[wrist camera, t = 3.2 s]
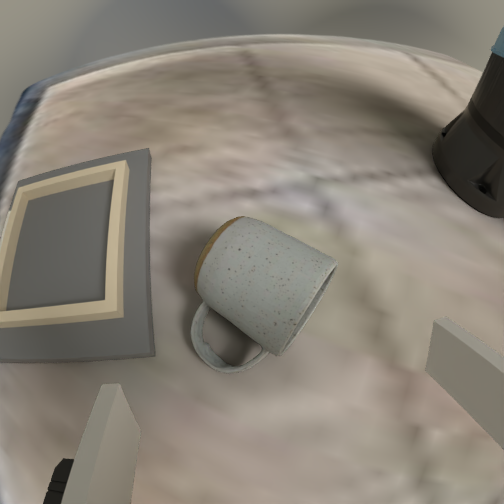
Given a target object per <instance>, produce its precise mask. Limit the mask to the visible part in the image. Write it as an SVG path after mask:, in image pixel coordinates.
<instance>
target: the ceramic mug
mask: <svg viewBox="0 0 504 504" xmlns="http://www.w3.org/2000/svg"><path fill="white" fill-rule="evenodd" d="M337 266H338V262H337V261H336V260H335V259H334V258H332V257H330V256H328V255H326V254H324V253H322V252H320V251H318V250H316V249H315V248H313V247H311V246H309V245H307V244H305V243H303V242H301V241H300V240H298V239H296V238H294V237H292V236H290V235H287V234H285V233H284V232H282V231H280V230H278V229H276V228H274V227H272V226H271V225H269V224H267V223H264V222H262V221H259V220H256V219H253V218H249V217H244V216H241V217H236V218H234V219H231V220H229V221H227V222H226V223H225V224H224V225H222V226H221V227H220V228H219V229H218V230H217V231H216V232H215V233H214V234H213V236H212V237H211V238H210V239H209V241H208V243H207V244H206V246H205V247H204V249H203V250H202V252H201V255H200V257H199V259H198V261H197V264H196V268H195V273H194V283H195V289H196V291H197V293H198V294H199V295H200V296H201V298H202V299H203V302H202V304H201V305H200V306H199V308H198V309H197V311H196V313H195V315H194V318H193V320H192V325H191V339H192V343H193V346H194V349H195V351H196V352H197V354H198V356H199V357H200V358H201V359H202V360H203V361H204V362H205V363H206V364H207V365H208V366H209V367H211V368H213V369H215V370H216V371H218V372H222V373H228V374H231V373H238V372H242V371H245V370H247V369H249V368H251V367H253V366H254V365H255V364H257V363H258V362H260V361H261V360H262V359H263V358H265V357H266V356H267V355H268V353H272V354H274V355H275V356H281V355H282V354H283V353H284V352H285V351H286V350H287V349H288V347H289V346H290V345H291V344H292V342H293V341H294V340H295V338H296V337H297V335H298V334H299V333H300V331H301V330H302V329H303V327H304V325H305V324H306V322H307V321H308V319H309V318H310V317H311V315H312V313H313V312H314V310H315V308H316V307H317V305H318V303H319V302H320V300H321V298H322V297H323V295H324V293H325V292H326V290H327V288H328V286H329V284H330V282H331V280H332V278H333V276H334V274H335V271H336V269H337ZM210 308H212V309H214V310H215V311H216V312H218V313H219V314H220V315H222V316H223V317H225V318H226V319H227V320H229V321H230V322H231V323H233V324H234V325H235V326H236V327H238V328H239V329H240V330H241V331H243V332H244V333H245V334H247V335H248V336H249V337H250V338H252V339H253V340H254V341H255V342H257V343H258V344H260V345H261V346H262V351H261V352H260V354H258V355H257V356H256V357H255V358H254V359H252V360H251V361H249V362H247V363H246V364H244V365H241V366H231V365H229V364H227V363H225V362H224V361H223V360H222V359H221V358H220V357H218V356H217V355H216V354H215V353H214V352H213V351H212V350H211V348H210V346H209V344H208V343H206V342H204V341H203V337H202V327H203V324H204V319H205V317H206V315H207V313H208V311H209V309H210Z"/></svg>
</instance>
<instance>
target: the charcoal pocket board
mask: <svg viewBox="0 0 504 504" xmlns="http://www.w3.org/2000/svg"><path fill="white" fill-rule="evenodd" d="M150 178H151V154H150V151H149V148H147V149H142V150H136V151H131V152H127V153H122V154H117V155H113V156H108V157H104V158H99V159H95V160H91V161H87V162H83V163H79V164H75V165H71V166H68V167H64V168H60V169H57V170H53V171H50V172H46V173H43V174H39V175H36V176H33V177H30V178H27V179H23V180H20V181H18V184H17V187H16V190H15V193H14V196H13V199H12V202H11V205H10V208H9V211H8V215H7V218H6V221H5V225H4V229H3V232H2V236H1V240H0V362H1V363H57V362H84V361H103V360H117V359H130V358H142V357H152V356H155V346H154V334H153V320H152V304H151V282H150Z"/></svg>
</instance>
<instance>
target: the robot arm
mask: <svg viewBox="0 0 504 504" xmlns="http://www.w3.org/2000/svg"><path fill="white" fill-rule="evenodd" d="M491 51H492V54H491V56H490V58H489V61H488V63H487V65H486V68H485V70H484V72H483V74H482V76H481V78H480V81H479V83H478V85H477V87H476V89H475V91H474V93H473V95H472V97H471V99H470V102H469V104H468V106H467V107H466V109H465V110H464V111H463V112H461V113H460V114H459V115H458V116H457V117H456V118H455V119H454V120H452V121H451V122H450V123H449V124H448V125H447V126H446V127H445V128H443V129H442V130H441V132H440V133H439V135H438V137H437V139H436V141H435V142H434V144H433V149H432V152H433V158H434V161H435V164H436V166H437V168H438V170H439V172H440V173H441V175H442V176H443V178H444V179H445V181H446V182H447V183H448V184H449V186H450V187H451V188H452V189H453V190H454V191H455V192H456V193H457V194H458V195H459V196H460V197H461V198H462V199H463V200H464V201H466V202H467V203H468V204H470V205H471V206H472V207H474V208H475V209H477V210H478V211H480V212H482V213H484V214H486V215H489V216H492V217H496V218H504V27H503V28H502V30H501V32H500V34H499V36H498V38H497V40H496V43H495V45H493V46H492V48H491ZM425 371H426V372H427V373H428V374H429V375H430V376H431V377H432V378H433V379H434V380H436V381H437V382H438V383H439V384H440V385H441V386H442V387H443V388H444V389H445V390H446V391H447V392H448V393H449V394H450V395H451V396H452V397H453V398H454V399H455V400H456V401H457V402H458V403H459V404H460V405H461V406H462V407H463V408H464V409H465V410H466V411H467V412H468V413H469V414H470V415H471V416H472V417H473V418H474V420H475V421H476V422H477V423H478V424H479V425H480V426H481V427H482V428H483V429H484V430H485V431H486V432H487V433H488V434H489V435H490V436H491V437H492V438H493V439H494V440H495V441H496V442H497V443H498V444H499V445H500V446H501V447H502V449H503V450H504V357H503V356H502V355H501V354H499V353H498V352H496V351H495V350H494V349H492V348H491V347H490V346H488V345H487V344H485V343H484V342H482V341H481V340H480V339H478V338H477V337H475V336H474V335H473V334H471V333H470V332H468V331H467V330H465V329H464V328H462V327H461V326H460V325H458V324H457V323H455V322H454V321H452V320H451V319H449V318H448V317H446V316H445V317H443V318H440V319H437V320H434V323H433V330H432V336H431V342H430V348H429V353H428V358H427V364H426V368H425ZM140 436H141V430H140V428H139V426H138V424H137V422H136V420H135V417H134V415H133V413H132V411H131V409H130V406H129V404H128V402H127V400H126V397H125V395H124V393H123V390H122V388H121V386H120V383H115V384H102V385H101V388H100V390H99V393H98V395H97V398H96V401H95V403H94V406H93V408H92V411H91V414H90V416H89V419H88V422H87V425H86V427H85V430H84V433H83V436H82V439H81V442H80V444H79V447H78V450H77V453H76V456H75V459H65V458H63V460H62V461H61V462H60V463H59V464H58V465H57V466H56V468H55V469H54V472H53V475H52V478H51V482H50V484H49V487H48V492H47V493H46V496H45V499H44V502H43V504H131V498H132V490H133V482H134V475H135V468H136V461H137V455H138V449H139V442H140Z"/></svg>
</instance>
